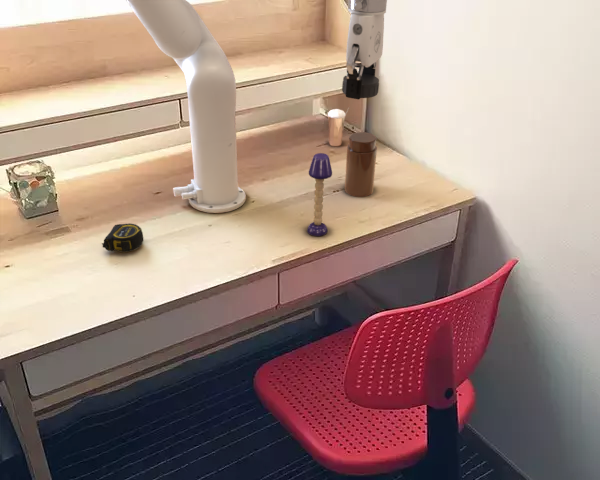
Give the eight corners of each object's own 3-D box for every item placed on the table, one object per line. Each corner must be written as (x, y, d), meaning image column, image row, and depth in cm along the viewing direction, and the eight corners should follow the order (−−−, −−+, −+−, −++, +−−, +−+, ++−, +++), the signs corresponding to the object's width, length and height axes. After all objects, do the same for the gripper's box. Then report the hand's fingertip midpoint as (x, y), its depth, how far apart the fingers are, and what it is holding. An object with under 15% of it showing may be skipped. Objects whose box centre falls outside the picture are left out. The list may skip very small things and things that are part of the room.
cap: (349, 84, 148) (350, 71, 146) (382, 90, 145) (384, 76, 144) (336, 94, 142) (337, 81, 140) (371, 100, 140) (372, 87, 138)
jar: (351, 198, 153) (355, 144, 146) (339, 186, 158) (342, 133, 151) (378, 194, 155) (383, 140, 148) (365, 182, 160) (369, 129, 153)
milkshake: (347, 147, 176) (349, 110, 170) (326, 147, 176) (328, 109, 170) (346, 140, 180) (348, 103, 174) (326, 140, 180) (328, 103, 174)
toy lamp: (305, 225, 143) (307, 151, 133) (327, 224, 144) (330, 150, 134) (308, 237, 139) (311, 161, 129) (331, 235, 140) (335, 160, 130)
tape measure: (117, 236, 138) (114, 220, 136) (149, 239, 137) (147, 223, 135) (103, 253, 132) (100, 237, 130) (137, 257, 132) (134, 240, 129)
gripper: (371, 14, 126) (362, 108, 136) (398, -3, 139) (389, 83, 149) (333, 9, 128) (328, 101, 138) (364, -8, 141) (357, 78, 151)
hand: (359, 91), depth 144 cm, fingers closed on cap, 7 cm apart
